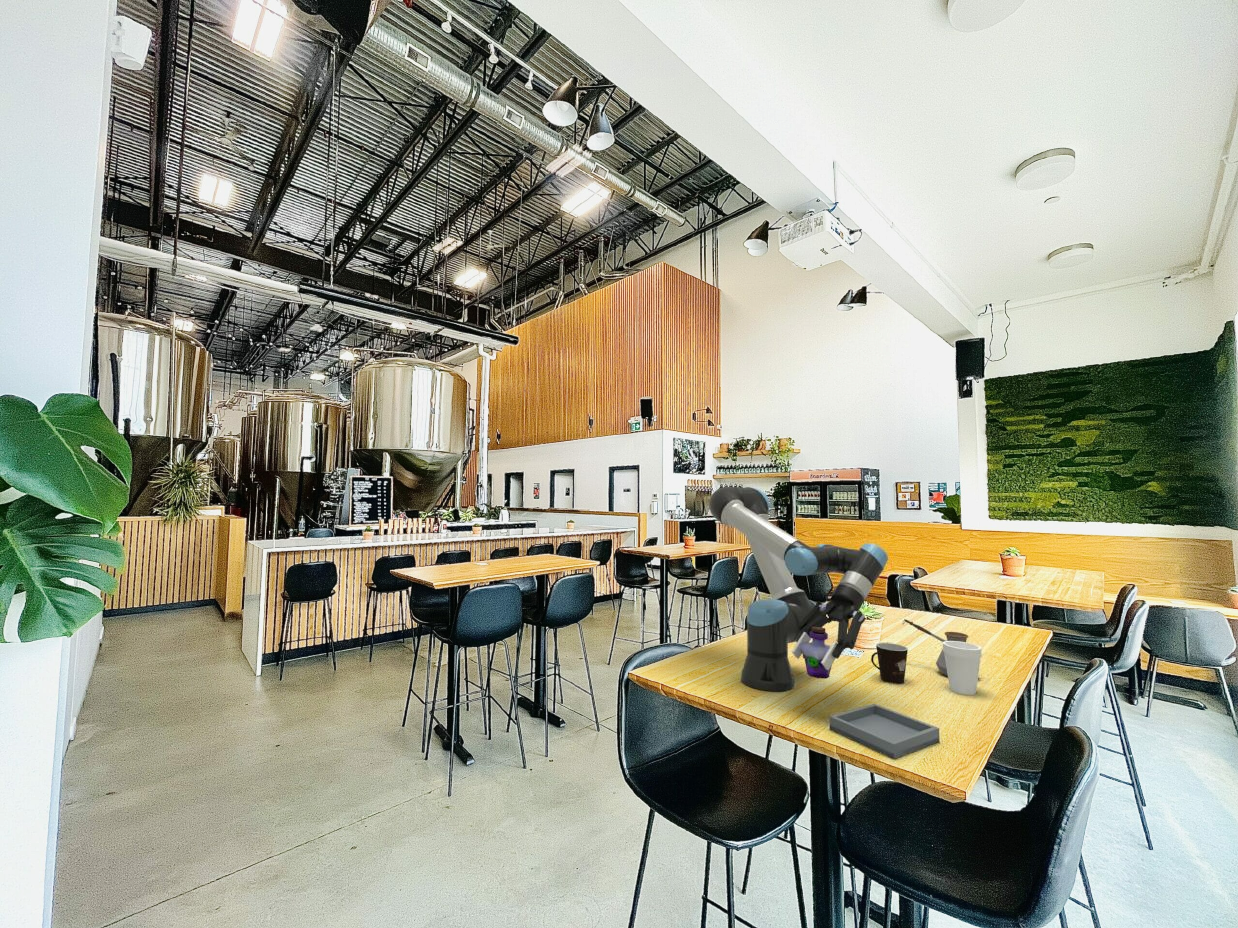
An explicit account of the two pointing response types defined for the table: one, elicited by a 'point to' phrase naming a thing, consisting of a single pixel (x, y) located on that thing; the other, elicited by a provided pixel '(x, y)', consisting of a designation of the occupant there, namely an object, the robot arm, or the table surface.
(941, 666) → the coffee pot
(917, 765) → the table surface
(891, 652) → the coffee mug
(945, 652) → the foam cup
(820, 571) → the robot arm
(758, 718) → the table surface
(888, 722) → the tray
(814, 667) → the potion bottle
